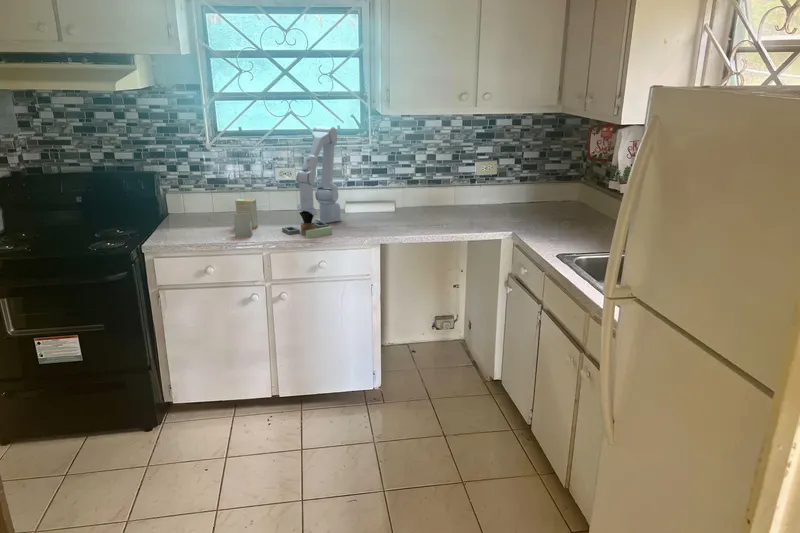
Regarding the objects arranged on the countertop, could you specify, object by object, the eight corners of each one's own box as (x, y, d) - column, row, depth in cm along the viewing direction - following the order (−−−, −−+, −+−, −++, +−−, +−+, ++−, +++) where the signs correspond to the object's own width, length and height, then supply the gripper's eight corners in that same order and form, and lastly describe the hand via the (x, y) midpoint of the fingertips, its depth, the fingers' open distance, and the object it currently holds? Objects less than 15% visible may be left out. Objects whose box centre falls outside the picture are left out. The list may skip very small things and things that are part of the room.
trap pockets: (321, 224, 281) (321, 218, 280) (339, 232, 269) (339, 225, 268) (282, 231, 270) (281, 224, 269) (299, 239, 257) (299, 233, 256)
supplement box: (258, 227, 276) (256, 199, 272) (253, 229, 272) (251, 201, 268) (242, 225, 278) (240, 197, 274) (237, 228, 274) (234, 199, 270)
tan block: (314, 231, 270) (314, 222, 269) (315, 234, 266) (315, 225, 264) (301, 231, 269) (300, 223, 268) (302, 235, 264) (301, 226, 263)
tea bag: (251, 237, 260) (249, 214, 257) (235, 237, 260) (233, 214, 257) (252, 234, 264) (251, 212, 261) (237, 234, 264) (235, 212, 260)
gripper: (290, 195, 270) (292, 225, 274) (306, 201, 259) (307, 232, 263) (304, 194, 274) (306, 223, 278) (320, 199, 263) (321, 229, 267)
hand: (307, 227), depth 271 cm, fingers closed
